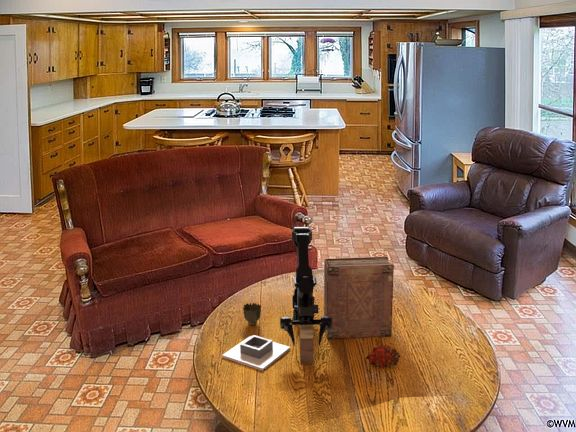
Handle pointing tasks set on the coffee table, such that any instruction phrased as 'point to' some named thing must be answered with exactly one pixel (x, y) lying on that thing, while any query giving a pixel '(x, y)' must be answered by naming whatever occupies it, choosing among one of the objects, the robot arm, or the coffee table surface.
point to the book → (358, 297)
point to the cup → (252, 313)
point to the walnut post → (306, 344)
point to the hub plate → (256, 352)
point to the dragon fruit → (383, 356)
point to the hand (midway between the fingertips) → (306, 345)
